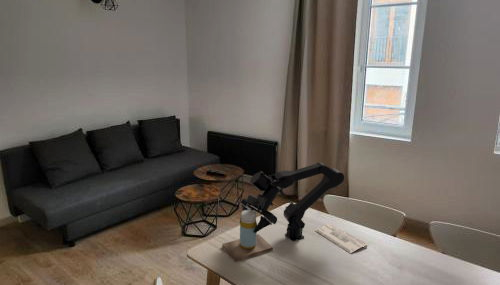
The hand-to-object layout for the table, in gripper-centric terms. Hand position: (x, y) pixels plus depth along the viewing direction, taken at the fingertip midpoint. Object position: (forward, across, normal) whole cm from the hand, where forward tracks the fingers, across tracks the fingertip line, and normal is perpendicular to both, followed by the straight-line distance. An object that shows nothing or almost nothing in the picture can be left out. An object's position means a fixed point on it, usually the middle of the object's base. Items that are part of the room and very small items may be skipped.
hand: (247, 227), depth 144 cm
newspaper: (-21, +19, +36) cm, 46 cm away
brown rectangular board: (+7, 0, +7) cm, 10 cm away
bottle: (+6, 0, +7) cm, 9 cm away
